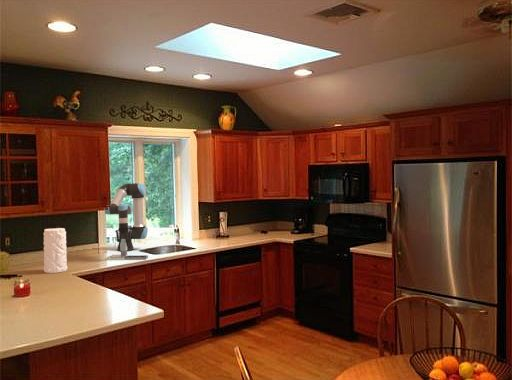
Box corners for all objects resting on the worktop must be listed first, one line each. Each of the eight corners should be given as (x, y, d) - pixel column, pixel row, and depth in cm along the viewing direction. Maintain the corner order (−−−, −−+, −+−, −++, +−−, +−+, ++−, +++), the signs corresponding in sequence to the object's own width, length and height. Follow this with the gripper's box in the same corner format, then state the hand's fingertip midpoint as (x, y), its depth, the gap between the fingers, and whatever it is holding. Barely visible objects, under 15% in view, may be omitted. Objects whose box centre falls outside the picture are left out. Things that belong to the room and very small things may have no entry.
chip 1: (112, 259, 383) (112, 254, 383) (117, 259, 383) (117, 254, 383) (111, 260, 379) (111, 255, 379) (116, 260, 379) (116, 255, 379)
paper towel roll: (43, 274, 330) (42, 231, 328) (43, 270, 344) (42, 228, 343) (68, 272, 337) (67, 229, 336) (67, 267, 352) (66, 227, 350)
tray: (109, 259, 387) (109, 255, 386) (127, 259, 387) (127, 255, 387) (105, 261, 376) (105, 258, 375) (123, 261, 376) (123, 258, 376)
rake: (122, 254, 384) (122, 238, 383) (127, 254, 384) (126, 238, 383) (120, 255, 379) (120, 239, 378) (125, 255, 379) (125, 239, 379)
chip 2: (117, 259, 383) (117, 254, 383) (122, 259, 383) (122, 254, 383) (116, 260, 379) (115, 255, 379) (120, 260, 379) (120, 255, 379)
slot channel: (127, 259, 386) (126, 255, 386) (147, 259, 386) (147, 255, 386) (124, 261, 377) (124, 257, 377) (145, 261, 377) (145, 257, 377)
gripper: (112, 223, 376) (112, 250, 378) (131, 223, 376) (132, 250, 378) (114, 222, 384) (115, 249, 385) (134, 222, 384) (134, 249, 385)
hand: (123, 249), depth 381 cm, fingers closed on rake, 3 cm apart
